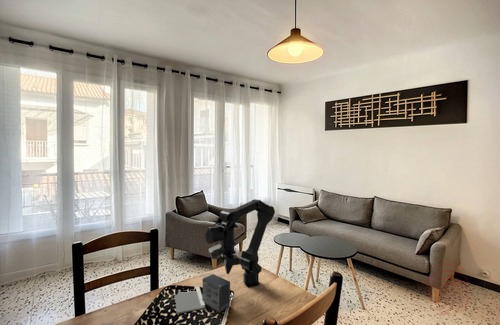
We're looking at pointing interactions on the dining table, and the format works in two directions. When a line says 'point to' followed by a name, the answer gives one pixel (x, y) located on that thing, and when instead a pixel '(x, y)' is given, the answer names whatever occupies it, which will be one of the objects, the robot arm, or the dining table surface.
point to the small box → (216, 292)
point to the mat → (189, 301)
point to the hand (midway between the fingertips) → (227, 273)
